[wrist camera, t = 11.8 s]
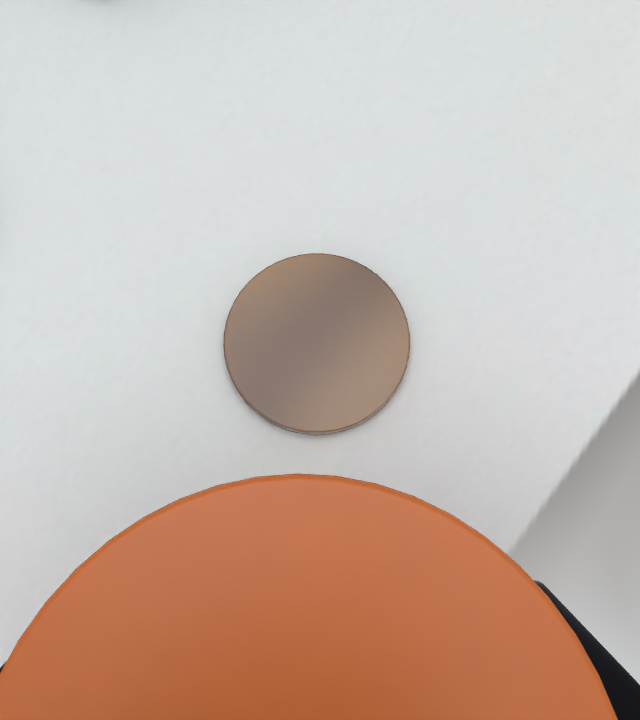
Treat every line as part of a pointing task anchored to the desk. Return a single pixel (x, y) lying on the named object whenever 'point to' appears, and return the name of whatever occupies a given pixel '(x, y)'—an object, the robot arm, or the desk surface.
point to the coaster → (316, 343)
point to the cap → (300, 618)
